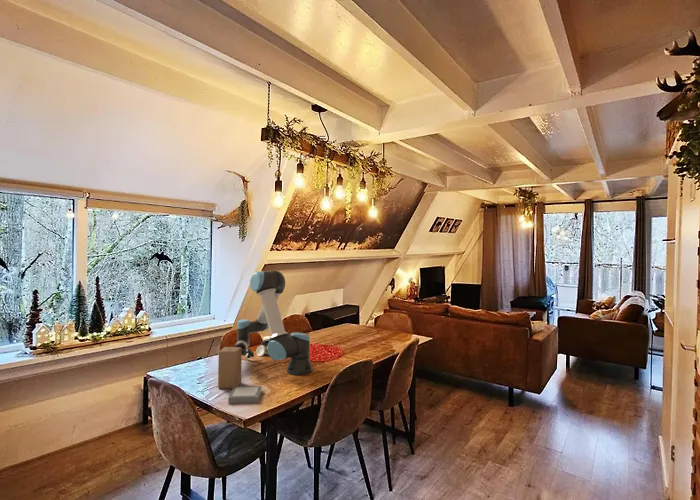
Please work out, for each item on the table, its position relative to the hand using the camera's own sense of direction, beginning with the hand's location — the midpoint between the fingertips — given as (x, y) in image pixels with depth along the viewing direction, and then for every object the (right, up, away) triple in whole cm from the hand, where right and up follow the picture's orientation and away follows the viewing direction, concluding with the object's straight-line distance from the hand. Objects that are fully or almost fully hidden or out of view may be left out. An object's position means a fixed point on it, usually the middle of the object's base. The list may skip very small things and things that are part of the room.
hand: (233, 359), depth 216 cm
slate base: (+14, -12, -25) cm, 31 cm away
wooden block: (+1, -12, -10) cm, 15 cm away
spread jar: (+8, -11, +49) cm, 50 cm away
